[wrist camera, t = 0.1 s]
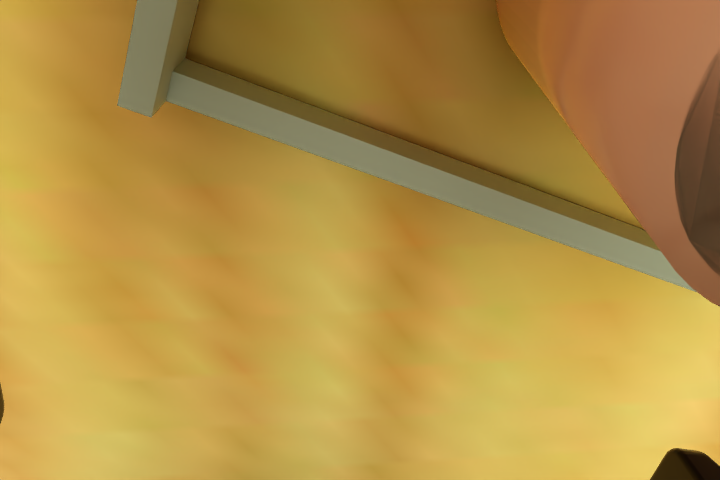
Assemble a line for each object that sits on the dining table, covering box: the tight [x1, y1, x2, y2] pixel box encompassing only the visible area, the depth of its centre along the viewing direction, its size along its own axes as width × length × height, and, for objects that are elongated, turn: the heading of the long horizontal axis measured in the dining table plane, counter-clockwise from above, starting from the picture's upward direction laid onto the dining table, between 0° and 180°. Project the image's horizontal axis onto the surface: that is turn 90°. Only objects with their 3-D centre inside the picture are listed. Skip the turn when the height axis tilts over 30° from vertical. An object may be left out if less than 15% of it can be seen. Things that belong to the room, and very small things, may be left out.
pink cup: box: [496, 0, 720, 306], centre depth 14 cm, size 7×7×12 cm
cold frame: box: [117, 0, 697, 292], centre depth 15 cm, size 15×25×10 cm, turn 69°
